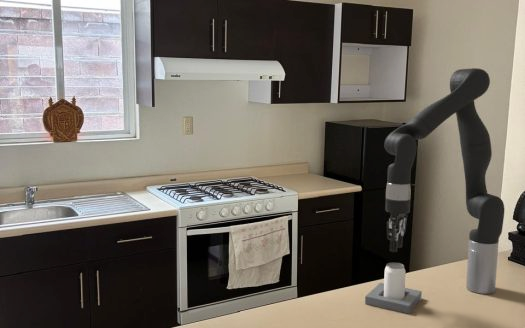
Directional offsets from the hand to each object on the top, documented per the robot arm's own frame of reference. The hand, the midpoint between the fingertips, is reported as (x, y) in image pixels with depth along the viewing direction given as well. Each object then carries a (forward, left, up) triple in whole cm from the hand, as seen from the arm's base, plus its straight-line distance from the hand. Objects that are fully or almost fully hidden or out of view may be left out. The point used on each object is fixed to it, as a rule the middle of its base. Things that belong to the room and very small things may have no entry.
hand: (395, 249), depth 169 cm
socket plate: (0, 0, -17) cm, 17 cm away
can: (0, 0, -18) cm, 18 cm away
